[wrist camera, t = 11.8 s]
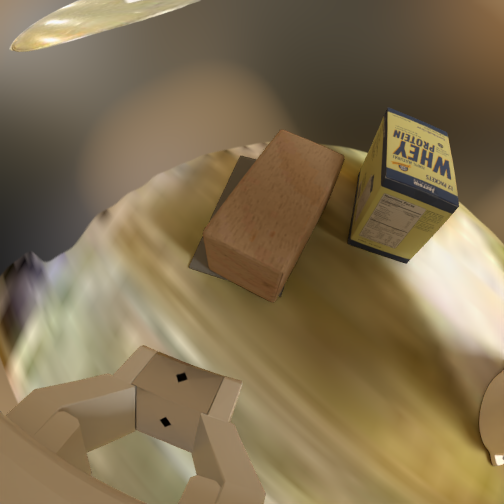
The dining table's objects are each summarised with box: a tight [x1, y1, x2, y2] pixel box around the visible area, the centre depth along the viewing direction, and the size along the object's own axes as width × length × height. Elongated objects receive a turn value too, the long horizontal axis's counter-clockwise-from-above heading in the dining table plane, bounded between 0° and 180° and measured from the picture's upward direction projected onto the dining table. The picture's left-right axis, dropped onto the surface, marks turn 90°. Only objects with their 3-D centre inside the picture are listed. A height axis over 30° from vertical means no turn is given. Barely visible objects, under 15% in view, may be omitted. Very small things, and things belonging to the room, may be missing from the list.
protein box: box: [348, 108, 459, 263], centre depth 42 cm, size 10×16×16 cm
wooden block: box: [203, 130, 345, 302], centre depth 42 cm, size 10×10×20 cm
